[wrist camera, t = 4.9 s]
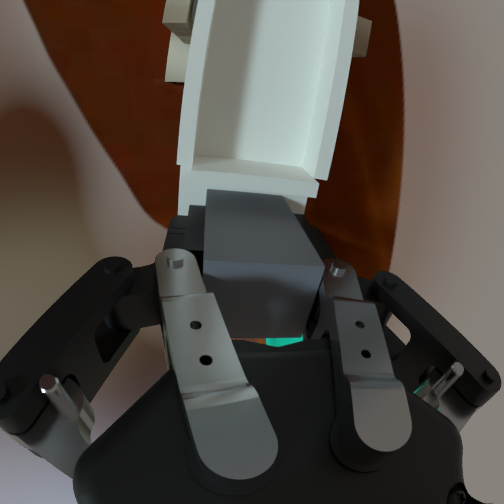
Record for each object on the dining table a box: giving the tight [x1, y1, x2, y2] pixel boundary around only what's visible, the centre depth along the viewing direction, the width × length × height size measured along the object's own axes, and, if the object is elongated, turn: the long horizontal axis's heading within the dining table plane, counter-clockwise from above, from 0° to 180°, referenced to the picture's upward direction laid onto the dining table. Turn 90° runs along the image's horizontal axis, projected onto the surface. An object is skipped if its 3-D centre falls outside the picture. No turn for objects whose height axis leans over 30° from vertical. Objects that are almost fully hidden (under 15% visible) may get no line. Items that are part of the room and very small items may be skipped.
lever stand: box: [162, 0, 372, 82], centre depth 13 cm, size 8×11×10 cm
